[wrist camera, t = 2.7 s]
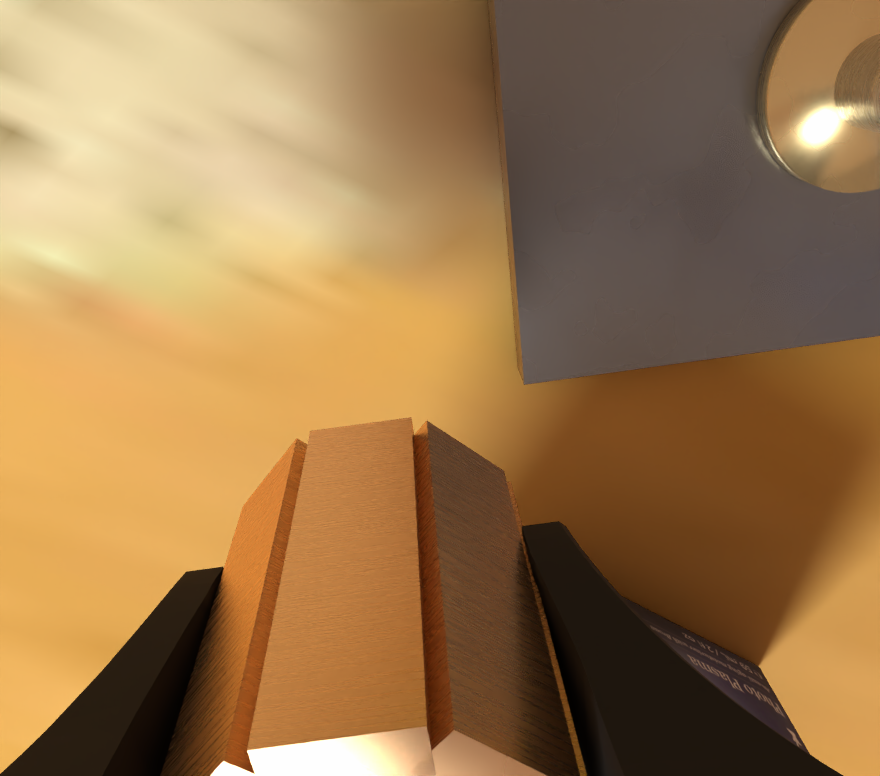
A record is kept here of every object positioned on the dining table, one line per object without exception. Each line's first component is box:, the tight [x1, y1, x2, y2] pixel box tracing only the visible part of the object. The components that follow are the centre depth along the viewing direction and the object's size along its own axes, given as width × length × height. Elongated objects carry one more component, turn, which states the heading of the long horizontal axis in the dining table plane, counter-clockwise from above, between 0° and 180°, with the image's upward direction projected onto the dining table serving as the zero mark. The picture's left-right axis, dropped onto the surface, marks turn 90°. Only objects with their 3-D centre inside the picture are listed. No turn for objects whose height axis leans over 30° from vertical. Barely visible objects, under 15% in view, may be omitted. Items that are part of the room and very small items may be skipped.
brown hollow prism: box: [161, 417, 587, 776], centre depth 11 cm, size 5×5×6 cm
